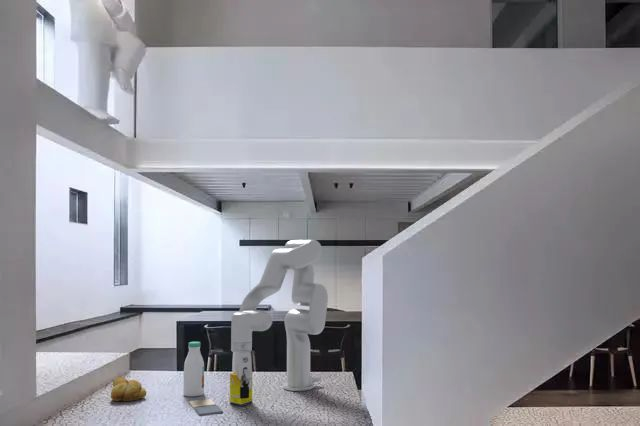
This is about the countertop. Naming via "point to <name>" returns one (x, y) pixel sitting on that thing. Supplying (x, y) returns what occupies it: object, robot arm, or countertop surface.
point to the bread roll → (127, 390)
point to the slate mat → (208, 410)
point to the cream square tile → (202, 403)
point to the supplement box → (238, 391)
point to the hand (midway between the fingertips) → (240, 395)
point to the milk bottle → (194, 371)
